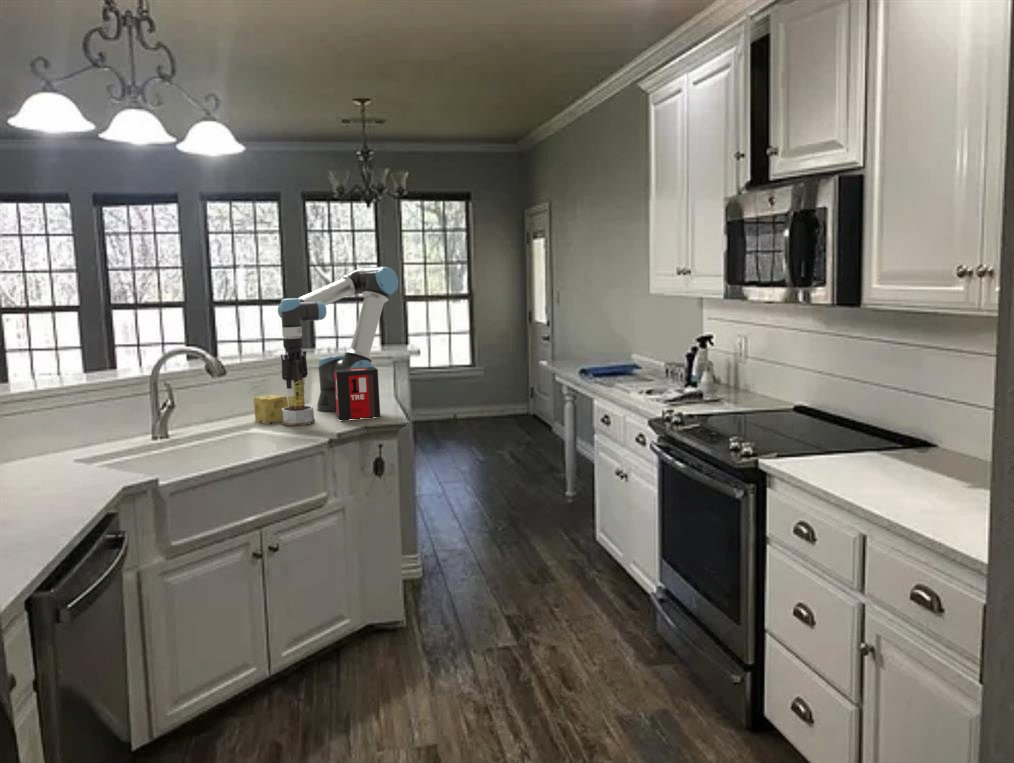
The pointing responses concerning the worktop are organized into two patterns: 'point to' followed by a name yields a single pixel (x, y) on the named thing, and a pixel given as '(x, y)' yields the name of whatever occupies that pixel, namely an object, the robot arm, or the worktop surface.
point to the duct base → (297, 423)
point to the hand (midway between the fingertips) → (296, 395)
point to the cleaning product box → (357, 393)
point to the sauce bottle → (297, 389)
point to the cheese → (269, 408)
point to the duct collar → (298, 415)
